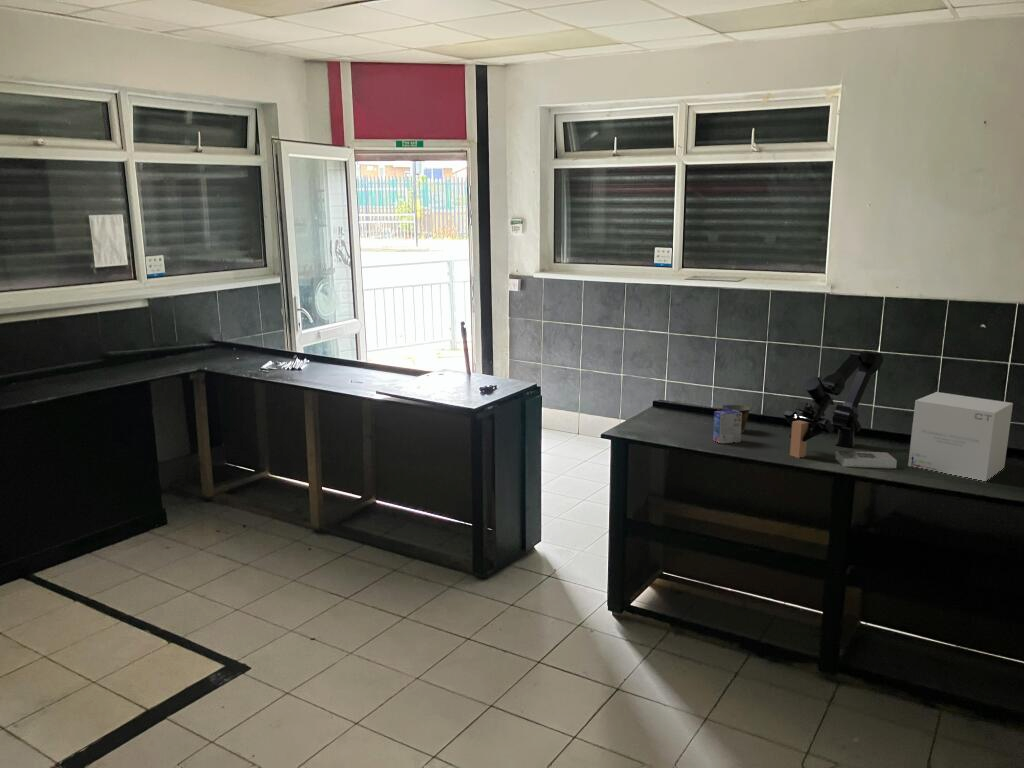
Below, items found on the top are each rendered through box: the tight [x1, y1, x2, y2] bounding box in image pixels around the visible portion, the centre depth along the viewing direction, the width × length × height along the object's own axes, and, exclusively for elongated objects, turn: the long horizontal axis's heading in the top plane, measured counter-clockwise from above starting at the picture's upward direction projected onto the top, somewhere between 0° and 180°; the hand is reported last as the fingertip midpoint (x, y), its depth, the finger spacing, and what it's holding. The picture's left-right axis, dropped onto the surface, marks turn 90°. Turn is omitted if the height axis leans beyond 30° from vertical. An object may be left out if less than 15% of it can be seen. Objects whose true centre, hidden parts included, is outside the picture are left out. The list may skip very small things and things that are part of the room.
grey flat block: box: [835, 450, 898, 470], centre depth 289 cm, size 10×18×3 cm, turn 84°
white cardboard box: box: [907, 391, 1014, 482], centre depth 283 cm, size 25×21×24 cm
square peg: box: [789, 420, 809, 459], centre depth 297 cm, size 4×4×13 cm
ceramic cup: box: [716, 404, 750, 433], centre depth 333 cm, size 13×10×10 cm
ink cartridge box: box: [712, 404, 742, 444], centre depth 316 cm, size 10×6×14 cm, turn 106°
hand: (796, 439), depth 296 cm, fingers open, 5 cm apart
